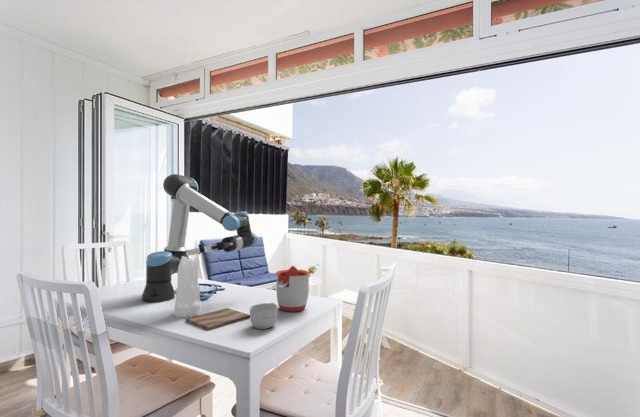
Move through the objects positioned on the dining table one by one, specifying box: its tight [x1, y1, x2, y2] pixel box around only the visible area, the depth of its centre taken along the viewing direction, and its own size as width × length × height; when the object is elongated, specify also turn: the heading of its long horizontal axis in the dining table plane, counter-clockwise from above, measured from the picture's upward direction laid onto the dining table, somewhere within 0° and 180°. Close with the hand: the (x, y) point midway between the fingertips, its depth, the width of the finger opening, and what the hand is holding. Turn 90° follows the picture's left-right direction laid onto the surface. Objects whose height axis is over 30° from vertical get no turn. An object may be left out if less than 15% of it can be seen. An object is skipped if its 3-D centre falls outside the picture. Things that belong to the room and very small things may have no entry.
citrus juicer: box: [275, 265, 310, 313], centre depth 154 cm, size 16×17×20 cm
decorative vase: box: [173, 256, 202, 319], centre depth 145 cm, size 11×11×25 cm
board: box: [185, 307, 250, 331], centre depth 137 cm, size 16×20×1 cm
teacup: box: [249, 302, 278, 330], centre depth 131 cm, size 14×11×8 cm
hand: (195, 251), depth 153 cm, fingers open, 13 cm apart
